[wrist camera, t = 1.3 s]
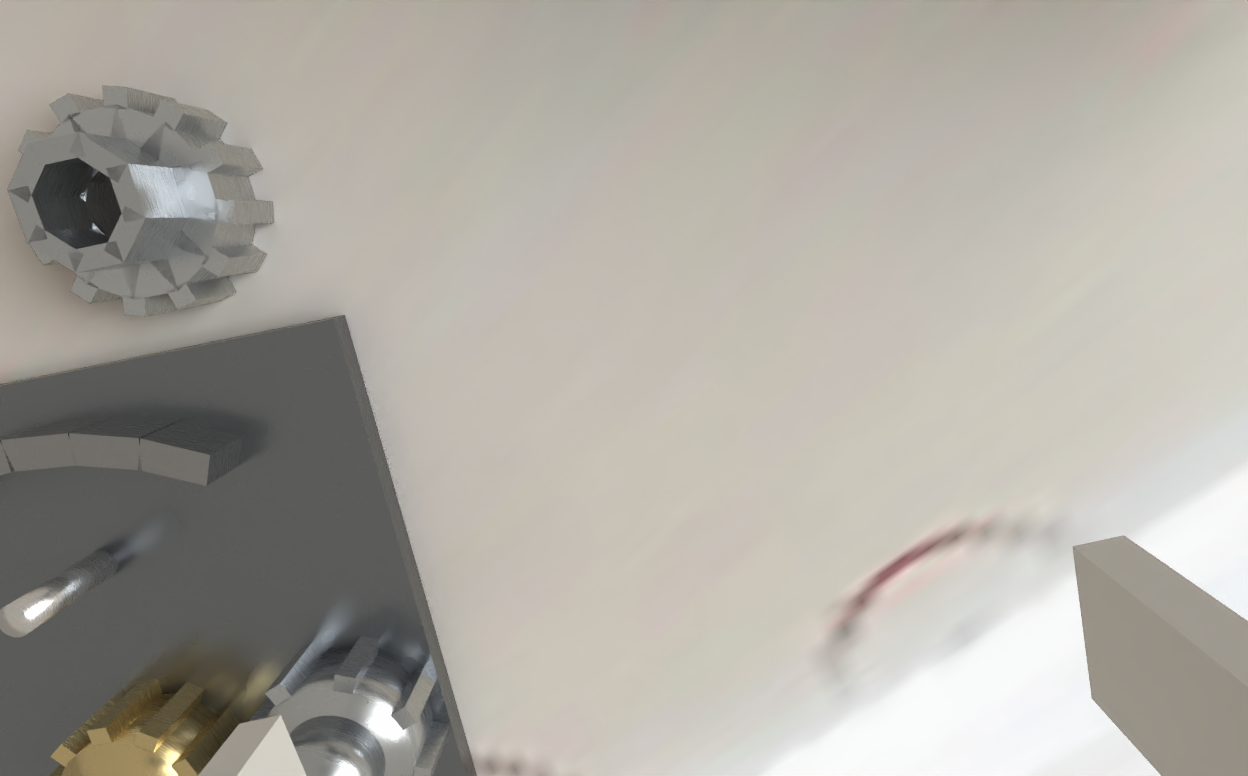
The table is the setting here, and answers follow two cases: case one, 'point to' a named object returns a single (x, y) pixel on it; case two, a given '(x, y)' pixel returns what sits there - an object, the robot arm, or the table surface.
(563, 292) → the table surface
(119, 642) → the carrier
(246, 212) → the gear
